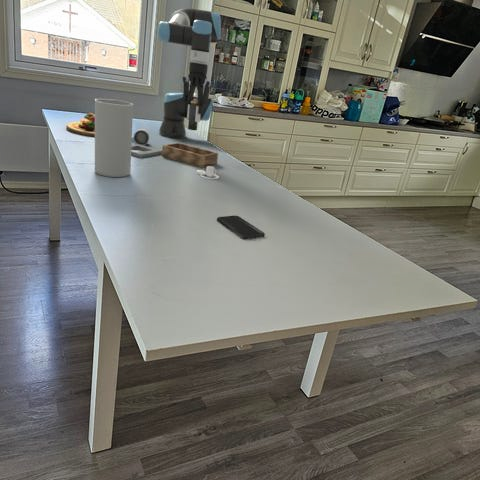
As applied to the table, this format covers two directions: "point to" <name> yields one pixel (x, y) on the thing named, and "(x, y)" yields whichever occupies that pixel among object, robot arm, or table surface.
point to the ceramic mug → (141, 137)
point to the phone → (240, 227)
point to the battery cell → (192, 115)
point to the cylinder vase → (113, 137)
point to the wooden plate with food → (84, 126)
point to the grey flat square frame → (147, 151)
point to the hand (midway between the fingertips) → (193, 120)
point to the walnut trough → (190, 154)
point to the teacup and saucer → (208, 172)
